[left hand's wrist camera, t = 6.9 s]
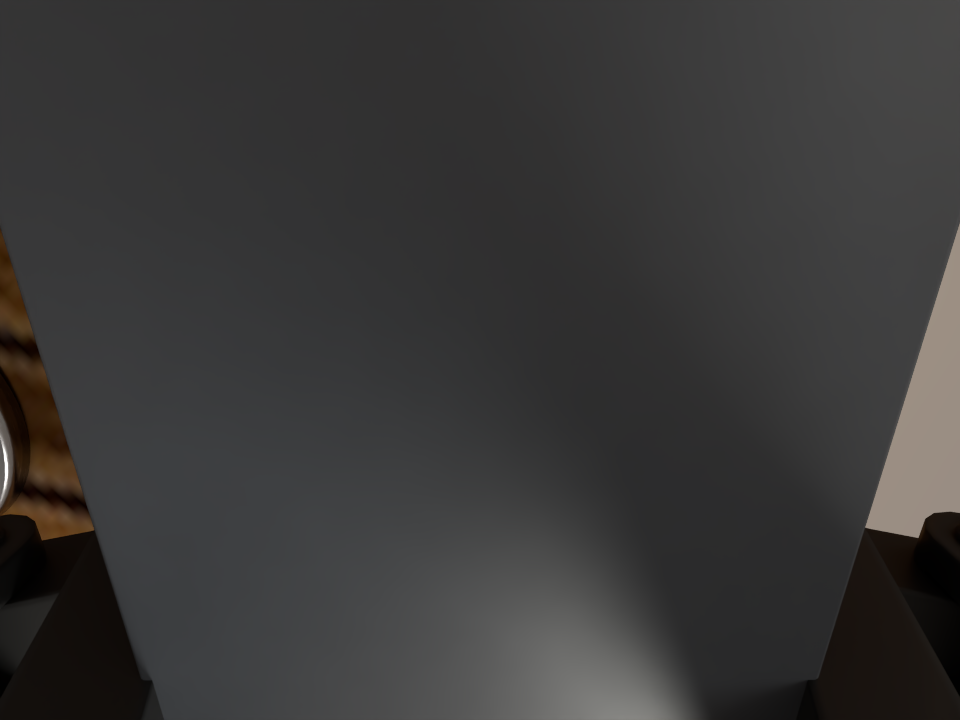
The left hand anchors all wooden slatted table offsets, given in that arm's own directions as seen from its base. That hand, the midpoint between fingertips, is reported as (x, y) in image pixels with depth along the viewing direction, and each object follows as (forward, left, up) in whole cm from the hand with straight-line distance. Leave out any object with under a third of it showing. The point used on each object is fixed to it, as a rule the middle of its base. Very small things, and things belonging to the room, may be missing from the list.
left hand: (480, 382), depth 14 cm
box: (-3, +11, -2) cm, 11 cm away
